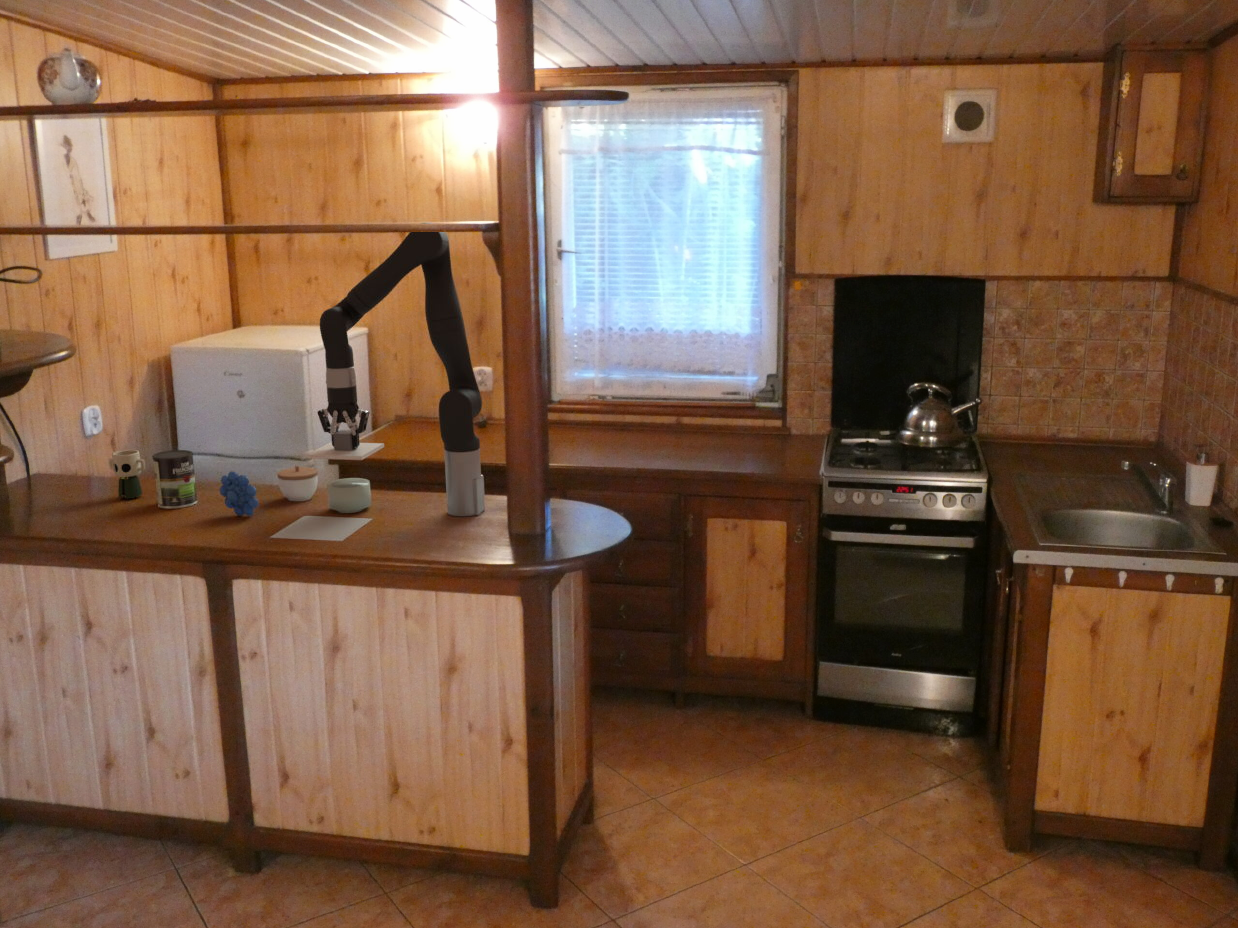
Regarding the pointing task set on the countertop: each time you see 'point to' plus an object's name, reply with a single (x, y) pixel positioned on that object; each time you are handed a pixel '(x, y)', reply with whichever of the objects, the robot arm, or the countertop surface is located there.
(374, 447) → the lid
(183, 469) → the coffee can
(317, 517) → the mat
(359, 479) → the bowl
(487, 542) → the countertop surface
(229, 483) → the grapes
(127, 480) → the character mug
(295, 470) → the lidded jar
